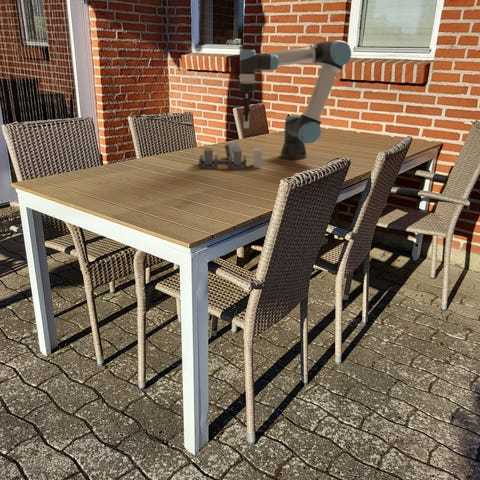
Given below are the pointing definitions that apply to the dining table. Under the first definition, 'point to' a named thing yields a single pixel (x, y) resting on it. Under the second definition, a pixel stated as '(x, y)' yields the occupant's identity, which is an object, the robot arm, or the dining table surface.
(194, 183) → the dining table surface
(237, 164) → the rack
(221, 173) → the dining table surface
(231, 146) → the electrical switch
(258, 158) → the grey block
